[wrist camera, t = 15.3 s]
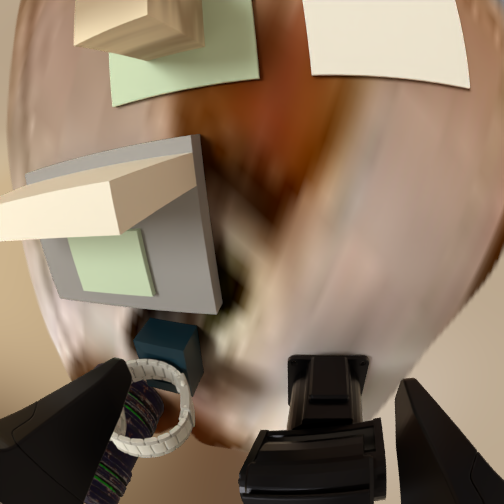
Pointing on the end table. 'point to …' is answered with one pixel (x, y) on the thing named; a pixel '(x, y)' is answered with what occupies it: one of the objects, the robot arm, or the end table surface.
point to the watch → (164, 381)
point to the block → (139, 26)
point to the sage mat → (193, 58)
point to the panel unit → (123, 226)
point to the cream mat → (387, 40)
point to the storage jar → (116, 461)
